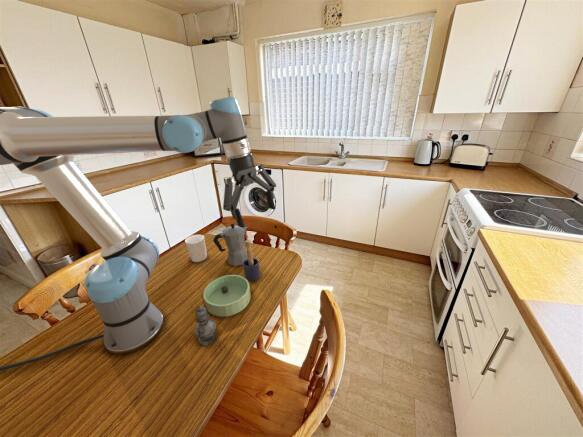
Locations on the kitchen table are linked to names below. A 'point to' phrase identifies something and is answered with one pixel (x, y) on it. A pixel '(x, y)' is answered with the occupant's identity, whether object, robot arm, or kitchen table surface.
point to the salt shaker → (204, 327)
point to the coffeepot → (233, 244)
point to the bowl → (227, 295)
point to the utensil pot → (251, 270)
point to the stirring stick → (249, 252)
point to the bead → (224, 289)
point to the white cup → (196, 248)
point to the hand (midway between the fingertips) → (257, 217)
